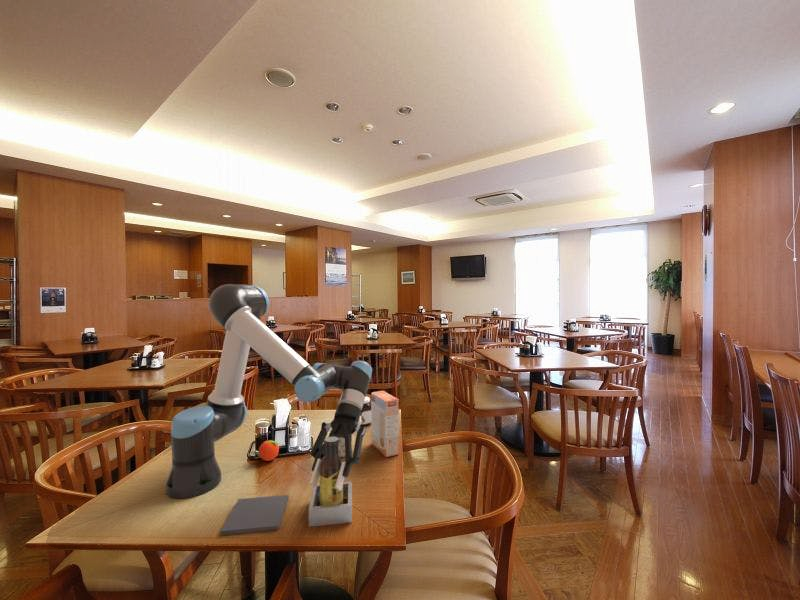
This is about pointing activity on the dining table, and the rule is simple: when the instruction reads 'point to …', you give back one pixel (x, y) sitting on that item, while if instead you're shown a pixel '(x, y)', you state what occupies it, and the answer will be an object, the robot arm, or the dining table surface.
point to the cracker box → (385, 423)
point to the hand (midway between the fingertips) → (325, 487)
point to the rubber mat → (256, 515)
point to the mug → (341, 446)
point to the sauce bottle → (330, 474)
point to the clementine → (268, 450)
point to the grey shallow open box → (330, 508)
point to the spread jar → (365, 413)
